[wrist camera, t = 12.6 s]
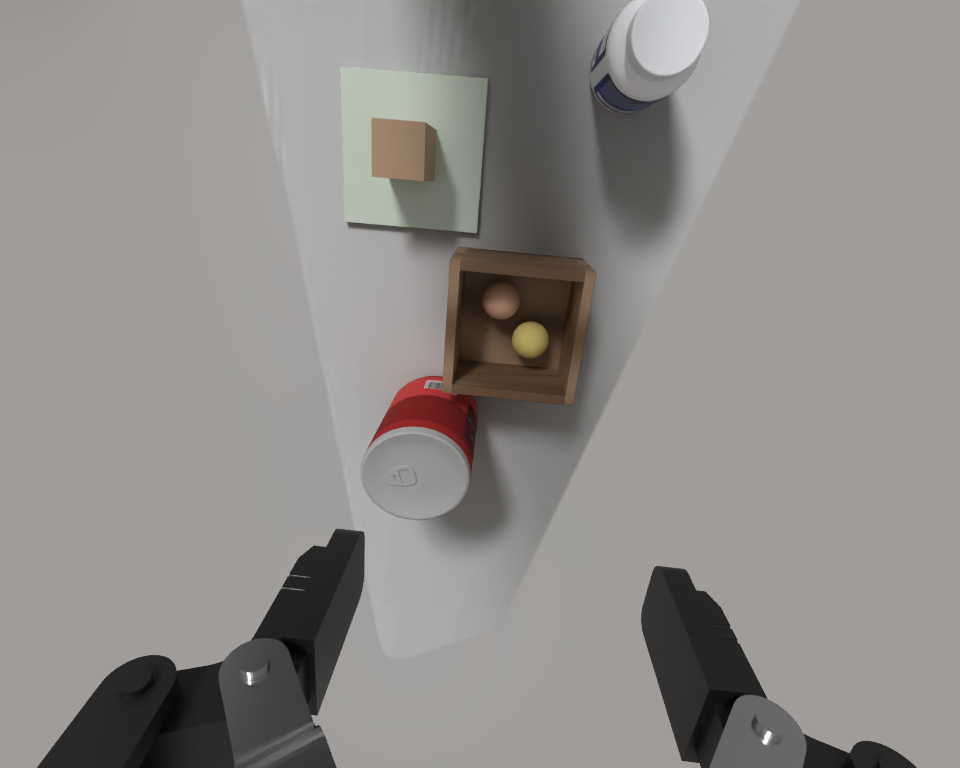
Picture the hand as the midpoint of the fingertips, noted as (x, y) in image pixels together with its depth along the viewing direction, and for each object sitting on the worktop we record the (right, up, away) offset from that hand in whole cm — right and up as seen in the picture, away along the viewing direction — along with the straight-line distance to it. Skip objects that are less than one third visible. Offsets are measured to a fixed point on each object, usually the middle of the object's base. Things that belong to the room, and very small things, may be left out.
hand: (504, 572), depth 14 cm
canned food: (-5, +3, +32) cm, 33 cm away
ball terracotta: (+1, +12, +27) cm, 29 cm away
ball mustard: (+3, +9, +28) cm, 30 cm away
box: (+2, +11, +28) cm, 30 cm away
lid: (-6, +23, +24) cm, 34 cm away
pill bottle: (+10, +27, +21) cm, 36 cm away
